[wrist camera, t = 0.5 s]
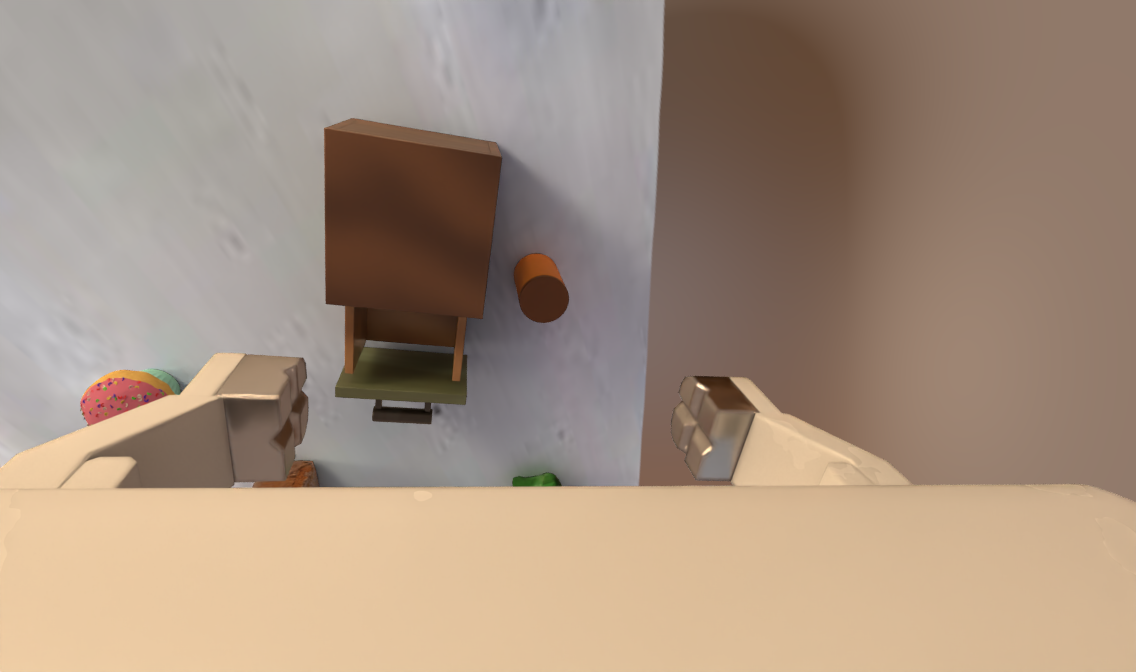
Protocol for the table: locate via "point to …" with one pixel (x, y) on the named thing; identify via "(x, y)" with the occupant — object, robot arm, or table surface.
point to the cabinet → (408, 218)
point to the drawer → (403, 362)
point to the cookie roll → (540, 288)
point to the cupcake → (125, 393)
